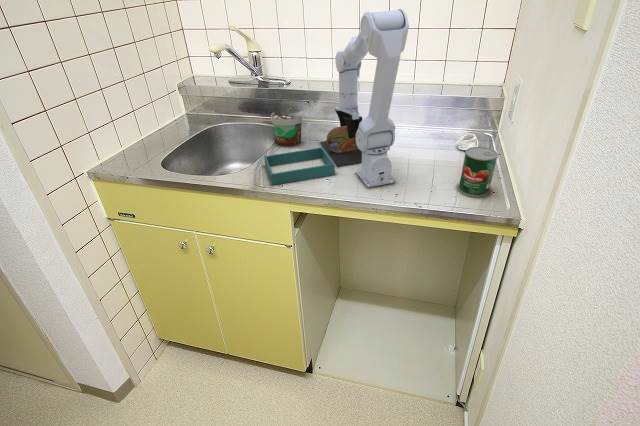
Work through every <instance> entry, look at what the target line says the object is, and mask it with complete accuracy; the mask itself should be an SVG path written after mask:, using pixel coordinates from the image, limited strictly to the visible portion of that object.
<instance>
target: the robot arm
mask: <svg viewBox="0 0 640 426" xmlns="http://www.w3.org/2000/svg"><path fill="white" fill-rule="evenodd" d="M359 26H360V27H359V28H360V29H359V30H360V31H359V33H358V35H357V36H352V37H351V38H350V40H349V42H348V43H347V45H346V46H345V47H344V49H343V51H341V50H338V51H336V54H335V68H336V71H337V72H338V103H337V105H338V106H335V108H334V112H335V114H336V116H337V118H338V122H339V127H341V126H347V130H348V136H349V138H350V139H351V138H356V144H357V147H358V148H359V149H360V150H361V151H362V163H361V170H358V171H356V174H357V176H358V178H360V180H361V181H362V182H363V183H364V185H365V186H366V187H367V188H372V187H377V186H383V185H388V184H393V183H394V180H393V178H392V167H393V166H392V161H391V160H390V158H389V156H388V155H389V154H388V151H390V150H391V147H392V146H393V145H394V143H395V141H396V125H395V123H394V121H393V120H392V119H391V118H390V117H389V115H390V109H391V104H392V101H393V95H394V89H395V85H396V80H397V75H398V70H399V65H400V60H401V54H402V53H403V52H404V51H405V49H406V43H407V39H408V33H409V29H410V23H409V20H408V15H407V13H406V12H405V10H404V9H402V8H399V9H395V10H385V11H384V10H383V11H382V10H381V11H373V12H372V11H371V12H370V11H365V12H364V13H363V15H362V16H361V19H360V23H359ZM368 54H369V55H370V56H373V57H374V58H376V66H375V73H374V79H373V85H372V91H371V98H370V103H369V111H368V116H366V117H365V118H363V117H362V116H361V115H360V112H359V105H358V95H359V94H358V92H359V91H358V89H359V88H358V87H359V84H358V83H359V82H358V81H359V78H358V77H360V71H361V68H362V61H363V60H364V58H365V57H366V56H367V55H368ZM358 127H359V128H358Z"/></svg>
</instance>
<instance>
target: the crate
mask: <svg viewBox="0 0 640 426" xmlns="http://www.w3.org/2000/svg"><path fill="white" fill-rule="evenodd" d="M318 159H322V161H323V163H324V164H323V165H316V166H309V167H303V168H298V169H291V170H285V171H278V172H274V173H273V171H272V169H271V167H273V166H280V165H285V164H291V163H299V162H305V161H311V160H312V161H313V160H318ZM264 165H265V169H266V171H267V174H268V177H269V181H270V183H271V186H276V185H281V184H282V185H283V184H287V183H294V182H299V181H306V180H311V179H317V178H323V177H328V176H333V175H334V176H335V173H336V172H335V171H336V169H335V162H334V161H333V160H332V158H331V157H330V155H329V154H328V153H327V151H326V150H325V148H324V147H323V146H321V147H316V148H308V149H303V150H296V151H289V152H283V153H282V152H281V153H277V154H269V155H264Z"/></svg>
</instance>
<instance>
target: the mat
mask: <svg viewBox="0 0 640 426" xmlns="http://www.w3.org/2000/svg"><path fill="white" fill-rule="evenodd" d="M320 144H321V147H323V149H324V150H325V152H326V153H327V155H328V156H329V157H330V159H331V160H332V162H333V163H334V165H335V166H336V167H337V168H340V167H344V166H345V167H346V166H351V165H356V164H357V165H358V164H362V151H361V150H354V151H348V152H342V153H335V152H333V151H332V150H331V149H330V148H329V147H328V145H327V141H326V140H325V141H320Z"/></svg>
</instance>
